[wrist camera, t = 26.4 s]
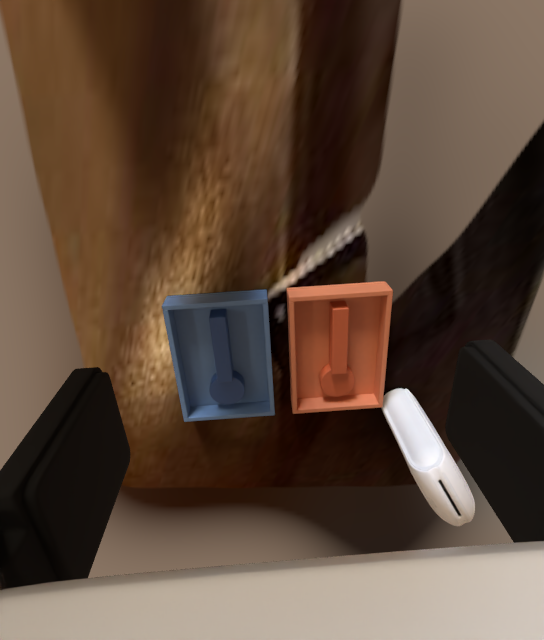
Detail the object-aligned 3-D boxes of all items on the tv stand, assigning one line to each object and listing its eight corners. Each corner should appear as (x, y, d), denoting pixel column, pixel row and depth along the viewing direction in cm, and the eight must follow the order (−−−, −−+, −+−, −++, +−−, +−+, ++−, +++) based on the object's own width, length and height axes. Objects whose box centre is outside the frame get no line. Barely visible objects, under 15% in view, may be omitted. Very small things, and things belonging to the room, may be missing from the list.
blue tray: (166, 295, 39) (161, 305, 37) (266, 289, 40) (267, 298, 37) (187, 407, 45) (184, 422, 43) (273, 401, 46) (274, 415, 43)
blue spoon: (199, 310, 40) (197, 318, 38) (237, 307, 40) (236, 316, 38) (212, 398, 44) (211, 409, 43) (246, 396, 45) (246, 407, 43)
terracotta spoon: (318, 302, 40) (321, 310, 38) (355, 299, 40) (360, 307, 38) (318, 390, 45) (321, 401, 43) (351, 388, 45) (355, 399, 43)
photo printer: (438, 437, 49) (492, 527, 38) (406, 452, 50) (451, 543, 39) (407, 380, 45) (458, 462, 34) (373, 397, 46) (412, 482, 35)
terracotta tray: (286, 287, 40) (288, 297, 37) (385, 281, 40) (393, 290, 38) (290, 400, 46) (292, 414, 43) (376, 393, 46) (382, 407, 44)
